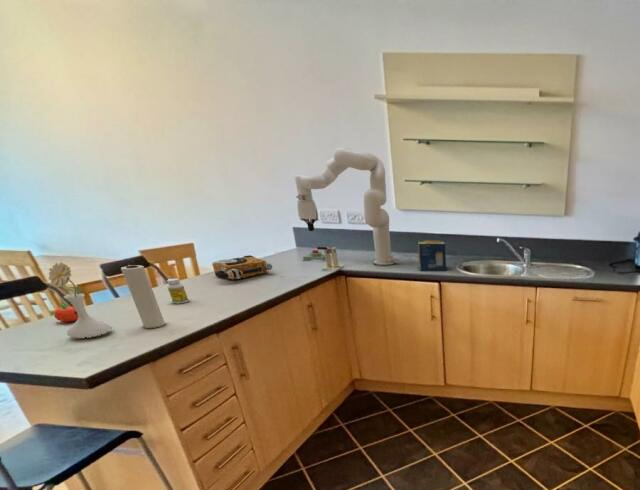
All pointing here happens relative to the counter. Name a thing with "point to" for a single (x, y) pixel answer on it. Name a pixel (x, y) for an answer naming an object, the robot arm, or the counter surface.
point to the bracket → (328, 259)
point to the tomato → (66, 314)
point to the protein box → (432, 255)
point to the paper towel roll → (143, 296)
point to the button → (315, 251)
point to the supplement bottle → (177, 291)
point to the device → (240, 267)
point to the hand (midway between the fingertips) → (311, 230)
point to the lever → (325, 249)
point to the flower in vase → (77, 306)
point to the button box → (314, 256)
